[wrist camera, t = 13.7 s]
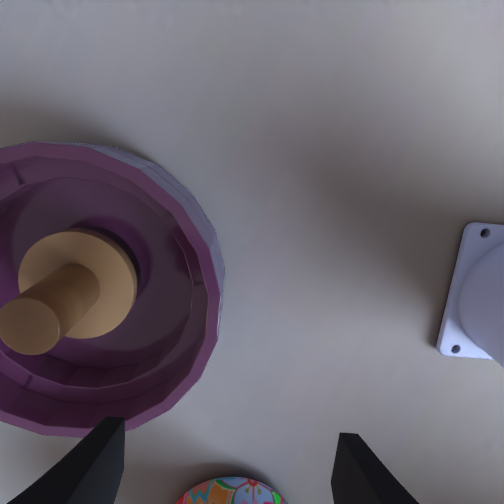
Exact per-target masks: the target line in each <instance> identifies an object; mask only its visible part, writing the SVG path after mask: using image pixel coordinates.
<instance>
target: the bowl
mask: <svg viewBox="0 0 504 504" xmlns="http://www.w3.org/2000/svg"><path fill="white" fill-rule="evenodd" d="M85 226H90V227H98V228H102V229H105V230H108V231H110V232H112V233H114V234H116V235H117V236H119V237H120V238H121V239H123V240H124V241H125V242H126V243H127V244H128V245H129V246H130V248H131V249H132V250H133V252H134V254H135V255H136V258H137V260H138V263H139V266H140V273H141V279H140V286H139V289H138V292H137V295H136V299H135V302H134V304H133V306H132V308H131V310H130V311H129V313H128V314H127V316H126V317H125V319H124V320H123V321H122V322H121V323H120V324H119V325H118V326H117V327H116V328H114V329H113V330H111V331H110V332H108V333H106V334H104V335H101V336H98V337H93V338H85V339H78V338H70V337H66V336H64V337H63V338H62V339H61V340H60V341H59V342H58V343H57V344H56V345H55V346H54V347H53V348H52V349H51V350H49V351H47V352H45V353H42V354H38V355H26V354H22V353H19V352H16V351H15V350H13V349H11V348H10V347H9V346H7V345H6V344H5V343H4V342H3V340H2V339H1V337H0V421H2V422H5V423H8V424H11V425H14V426H17V427H20V428H23V429H26V430H29V431H32V432H35V433H38V434H41V435H48V436H62V437H77V438H84V437H85V436H86V435H87V434H88V433H89V432H90V431H91V430H92V429H93V428H94V427H95V426H96V425H97V424H98V423H99V422H100V421H101V420H102V419H103V418H105V417H106V416H113V417H125V431H128V430H132V429H135V428H137V427H139V426H140V425H142V424H144V423H146V422H148V421H150V420H152V419H154V418H155V417H157V416H159V415H161V414H163V413H165V412H167V411H169V410H170V409H171V408H172V407H173V406H174V405H175V404H176V403H177V402H178V401H179V400H180V399H181V398H182V397H183V396H184V395H185V394H186V393H187V392H188V390H189V389H190V388H191V387H192V386H193V385H194V384H195V383H196V382H197V381H198V380H199V379H200V377H201V375H202V373H203V371H204V369H205V366H206V364H207V362H208V360H209V358H210V355H211V353H212V351H213V349H214V347H215V345H216V342H217V339H218V333H219V325H220V318H221V310H222V301H223V289H224V277H225V271H224V270H225V268H224V264H223V260H222V256H221V252H220V248H219V244H218V240H217V236H216V232H215V229H214V228H213V226H212V225H211V223H210V221H209V220H208V218H207V217H206V215H205V213H204V212H203V210H202V209H201V207H200V205H199V204H198V202H197V201H196V199H195V197H194V196H193V195H192V194H191V193H190V192H189V191H188V190H187V189H186V188H185V187H183V186H182V185H181V184H180V183H179V182H178V181H176V180H175V179H174V178H173V177H172V176H171V175H169V174H168V173H167V172H166V171H165V170H164V169H162V168H161V167H160V166H158V165H157V164H155V163H152V162H150V161H148V160H145V159H143V158H141V157H138V156H136V155H134V154H131V153H129V152H127V151H125V150H122V149H120V148H116V147H113V146H103V145H93V144H83V143H73V142H39V141H33V142H26V143H22V144H18V145H14V146H9V147H5V148H1V149H0V309H1V308H2V307H3V306H4V305H5V304H6V303H7V302H9V301H10V300H12V299H13V298H15V297H16V296H18V295H19V294H20V291H19V285H18V274H19V268H20V265H21V262H22V260H23V258H24V256H25V254H26V253H27V251H28V250H29V249H30V248H31V247H32V246H33V245H34V244H35V243H36V242H37V241H39V240H40V239H42V238H44V237H46V236H48V235H50V234H52V233H54V232H57V231H60V230H64V229H71V228H78V227H85Z"/></svg>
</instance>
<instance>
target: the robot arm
mask: <svg viewBox="0 0 504 504" xmlns="http://www.w3.org/2000/svg"><path fill="white" fill-rule="evenodd" d="M483 229H485V230H486V233H485V234H484V235H483V236H481V235H480V233H481V231H482V230H483ZM454 345H457V347H456V348H455V349H454V350H451V348H452V347H453V346H454ZM436 348H437V350H438V351H439V352H440V353H441V354H442V355H445V356H456V357H468V358H481V359H493V360H495V361H496V362H498V363H499V364H500V365H501V366H502V367H504V225H499V224H488V223H478V222H472V223H470V224H468V225H467V226H466V227H465V229H464V232H463V236H462V240H461V245H460V249H459V253H458V257H457V261H456V265H455V270H454V274H453V278H452V282H451V286H450V290H449V295H448V299H447V303H446V307H445V311H444V315H443V320H442V324H441V328H440V332H439V336H438V341H437V345H436ZM124 442H125V417H113V416H106V417H105V418H103V419H102V420H101V421H100V422H99V423H98V424H97V425H96V426H95V427H94V428H93V429H92V430H91V431H90V432H89V433H88V434H87V435H86V436H85V437H84V438H83V439H82V440H81V441H80V442H79V443H78V444H77V445H76V446H75V447H74V448H73V449H72V450H71V451H70V452H69V453H68V454H66V455H65V456H64V457H63V458H62V459H61V460H60V461H59V462H58V463H57V464H56V465H54V466H53V467H52V468H51V469H50V470H49V471H47V472H46V473H45V474H44V475H43V476H41V477H40V478H39V479H38V480H37V481H36V482H34V483H33V484H32V485H31V486H29V487H28V488H27V489H26V490H24V491H23V492H22V493H20V494H19V495H18V496H16V497H15V498H14V499H12V500H11V501H10V502H8V503H7V504H114V501H115V498H116V494H117V491H118V488H119V484H120V481H121V477H122V474H123V470H124ZM331 486H332V493H333V499H334V504H419V503H418V502H417V501H416V500H415V499H414V498H413V497H412V496H411V495H410V494H409V493H408V491H407V490H406V489H405V488H404V487H403V486H402V485H401V484H400V483H399V482H398V481H397V480H396V478H395V477H394V476H393V475H392V474H391V473H390V472H389V470H388V469H387V468H386V467H385V466H384V465H383V463H382V462H381V461H380V460H379V459H378V458H377V456H376V455H375V454H374V453H373V452H372V450H371V449H370V448H369V447H368V446H367V444H366V443H365V442H364V441H363V439H362V438H361V437H360V436H359V435H358V434H354V433H340V435H339V440H338V446H337V451H336V456H335V462H334V467H333V473H332V478H331Z"/></svg>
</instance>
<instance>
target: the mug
mask: <svg viewBox="0 0 504 504" xmlns="http://www.w3.org/2000/svg"><path fill="white" fill-rule="evenodd" d="M176 504H288V503H287V502H286V501H285V500H284V498H283V497H282V496H281V495H280V494H278V493H277V492H276V491H275V490H273V489H272V488H270V487H269V486H267V485H265V484H263V483H261V482H258V481H256V480H252V479H248V478H243V477H221V478H216V479H211V480H208V481H205V482H203V483H201V484H198V485H197V486H195V487H193V488H192V489H190V490H189V491H187V492H186V493H185V494H184V495H183V496H182V497H181V498H180V499H179V500H178V501H177V502H176Z"/></svg>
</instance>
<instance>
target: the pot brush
mask: <svg viewBox="0 0 504 504" xmlns="http://www.w3.org/2000/svg"><path fill="white" fill-rule="evenodd" d="M140 279H141V273H140V266H139V263H138V260H137V258H136V255H135V254H134V252H133V250H132V249H131V248H130V246H129V245H128V244H127V243H126V242H125V241H124V240H123V239H121V238H120V237H119V236H117V235H116V234H114V233H112V232H110V231H108V230H105V229H102V228H98V227H90V226H85V227H78V228H71V229H64V230H60V231H57V232H54V233H52V234H50V235H48V236H46V237H44V238H42V239H40V240H39V241H37V242H36V243H35V244H34V245H33V246H32V247H31V248H30V249H29V250H28V251H27V253H26V254H25V256H24V258H23V260H22V262H21V265H20V268H19V274H18V285H19V291H20V294H19V295H18V296H16V297H15V298H13V299H12V300H10V301H9V302H7V303H6V304H5V305H4V306H3V307H2V308H1V309H0V337H1V339H2V340H3V342H4V343H5V344H6V345H7V346H9V347H10V348H11V349H13V350H15V351H16V352H19V353H22V354H26V355H38V354H42V353H45V352H47V351H49V350H51V349H52V348H53V347H54V346H55V345H56V344H57V343H58V342H59V341H60V340H61V339H62V338H63V337H64V336H66V337H70V338H78V339H85V338H93V337H98V336H101V335H104V334H106V333H108V332H110V331H111V330H113V329H114V328H116V327H117V326H118V325H119V324H120V323H121V322H122V321H123V320H124V319H125V317H126V316H127V314H128V313H129V311H130V310H131V308H132V306H133V304H134V302H135V299H136V295H137V292H138V289H139V286H140Z"/></svg>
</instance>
